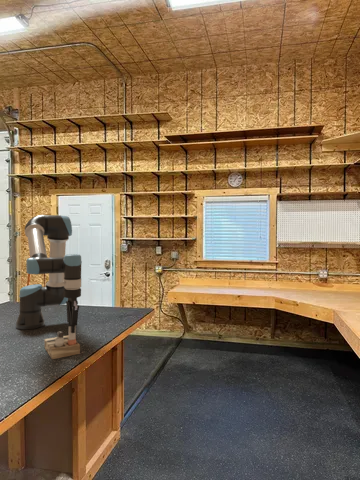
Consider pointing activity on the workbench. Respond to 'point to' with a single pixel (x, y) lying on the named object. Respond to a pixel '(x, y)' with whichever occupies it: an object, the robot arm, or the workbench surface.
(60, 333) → the fader knob
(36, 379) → the workbench surface
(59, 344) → the button
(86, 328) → the workbench surface
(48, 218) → the robot arm
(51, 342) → the console
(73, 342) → the button
